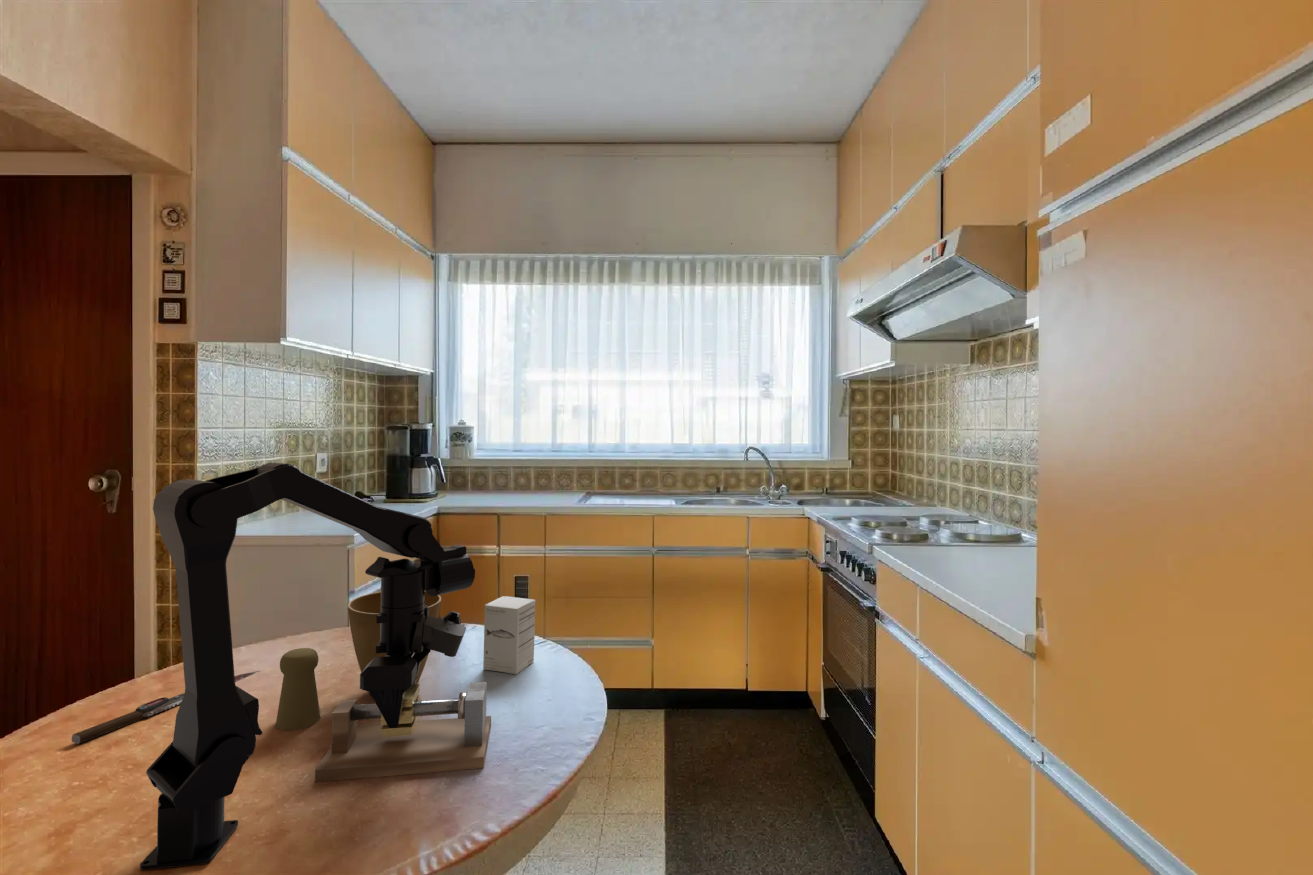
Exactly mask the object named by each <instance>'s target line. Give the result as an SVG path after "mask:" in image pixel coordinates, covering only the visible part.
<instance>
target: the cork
mask: <svg viewBox="0 0 1313 875" xmlns="http://www.w3.org/2000/svg"><path fill="white" fill-rule="evenodd" d="M318 663H319V655H318V652H317V651H316V649H314V648H309V647H301V648H295V649H291V650H288V651H286V652H284V653H283V655H282V656H281V658H280V661H279V669H280V672H281V673H282V674H283V678H282V684H281V690H280V695H279V702H278V709H277V713H276V714H277V715H276V720H275V728H276V729H277V730H281V731H296V730H301V729H305V728H307V727H308V728H309V727H311V726H314V723H315V724H316V723H317V722H319V721H320V720H321V711H320V703H319V696H318V688H317V681H316V674H315V669H316V668H317V666H318Z"/></svg>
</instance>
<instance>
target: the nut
mask: <svg viewBox="0 0 1313 875" xmlns="http://www.w3.org/2000/svg"><path fill="white" fill-rule="evenodd" d="M420 687H421V685H420V683H418V684H413V686H412V687H411V688H409V689H408V690H406V691H405V694H404V700H403V705H402V707H409V708H402V710H401V715H400V720H399V725H398V727H397V728H389V727H388V725H387V723H386V721H385V719H384V718H383V716H382V714H381V719H380V723H381V725H383V726H382V728H381V737H391V736H404V735H412V733H413V731H414V729H415V726H416V724H417V722H418V721H419V719H420V716H415V717H414V707H412V706H413V704H414V702H415V701H420V695H419V694H420V689H421V688H420Z"/></svg>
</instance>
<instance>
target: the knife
mask: <svg viewBox="0 0 1313 875" xmlns="http://www.w3.org/2000/svg"><path fill="white" fill-rule="evenodd" d="M256 672H257V673H259V672H261V670H258V671H253V672H252V671H251V672H245V673H241V674H237V675H234V676H235V683H237V682H239V681H241V680H243V679H246V678H247V677H250V676H252V675H255V674H257V673H256ZM184 694H185V692H183V693H182V692H181V693H180V694H178V695H175V696H172V697H169V698H168V697H166V696H164V697H160V698H156V699H154V700H151V701H149V702H148V701H147V702H146V703H143V704H141V705H139V706H138V707H136V708H135V710H134V711H131V712H129V713H126V714H124V715H123V714H122V715H121V716H119V717H115V718H112V719H110V720H107V721H105V722H102V723H100V724H97V725H95V726H92V727H89V728H86V729H84V730H81V731H78V732H76V733H74V734H72V736H71V742H72V743H74V744H77V745H80V744H82V743H85V742H88V741H91V740H93V739H95V738H97V737H100V736H103V735H105V734H108V733H110V732H113V731H115V730H118V729H120V728H122V727H126V726H128V725H131V724H133V723H135V722H138V721H141V720H143V719H145V718H148V717H151V716H153V715H155V714H158V713H161V712H163V711H167V710H169V709H171V708H174V707H176V706H180V704H181V702H182V699H183V697H184Z"/></svg>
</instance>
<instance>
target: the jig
mask: <svg viewBox="0 0 1313 875" xmlns="http://www.w3.org/2000/svg"><path fill="white" fill-rule="evenodd" d="M353 705H358V699H343V700H342V699H341V701H340V702H339V703H338V705H337V706H336V708H335V709H334V710H333V712H332V713H331V746H330V747H329V749H328V750H327V752H326V754H325V755H324V757H323V758H322V760H321V761H320V762H319V764H318V765H317V767H316V769H315V770H314V782H315V783H318V782H320V783H321V782H329V781H330V782H331V781H342V780H353V779H354V780H356V779H367V778H368V779H369V778H380V777H389V776H390V777H391V776H401V775H402V776H404V775H414V774H415V775H416V774H429V773H438V772H439V773H440V772H450V771H452V772H453V771H461V770H462V771H463V770H475V769H484V768H485V762H486V756H487V750H488V746H489V745H488V744H489V739H490V732H491V728H492V716H491V715H486V728H485V734H484V739H483V744H482V746H473V747H464V736H465V719H461V720H458V717H455V718H454V717H453V718H441V719H425V720H418V722H417V724H416V726H415V729H414V731H413V733H412V735H404V736H391V737H381V728H382V726H383V725H381V722H379V723H367V724H365V723H364V724H358V723H357V721H358V720H354V721H351V719H350V714H351V708H352V706H353Z"/></svg>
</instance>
